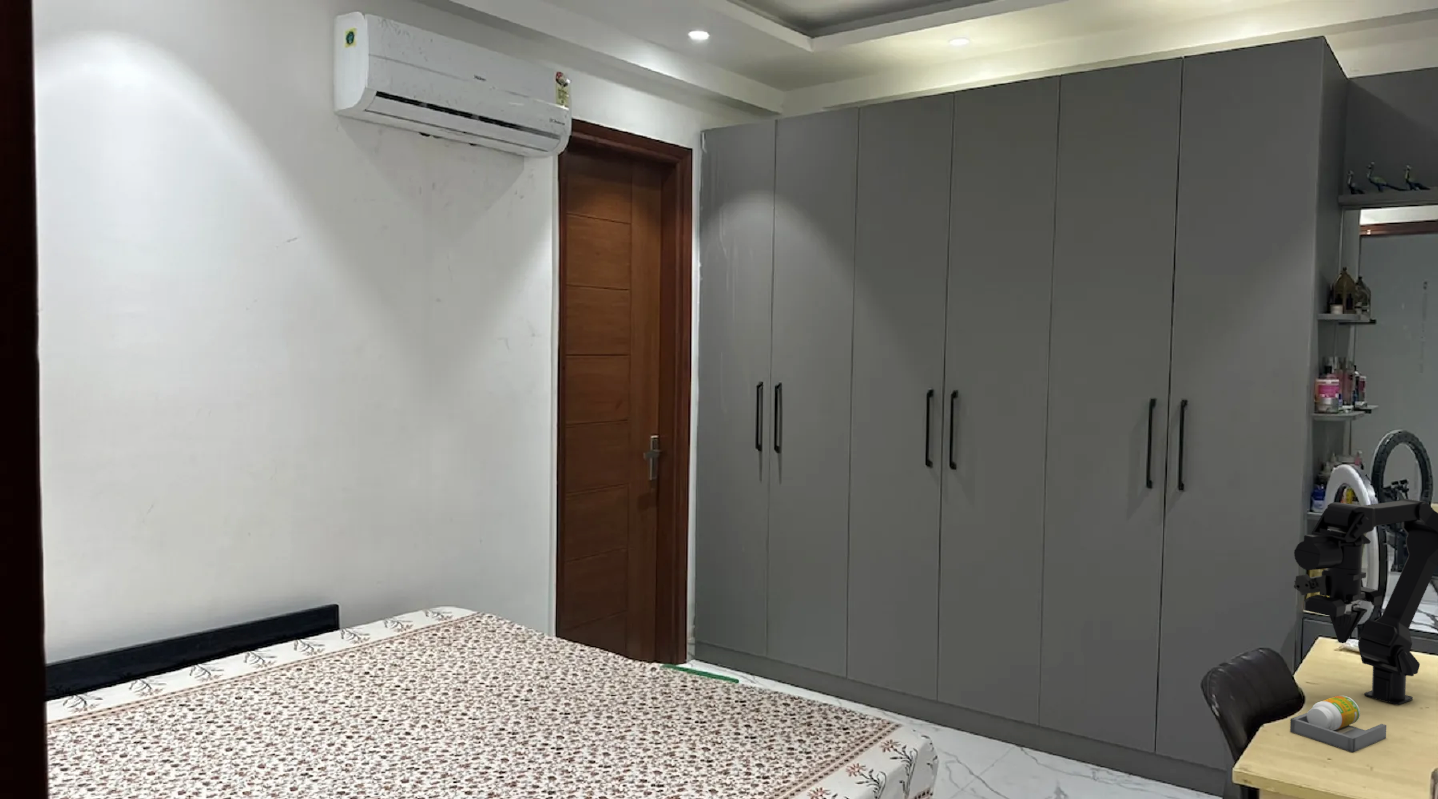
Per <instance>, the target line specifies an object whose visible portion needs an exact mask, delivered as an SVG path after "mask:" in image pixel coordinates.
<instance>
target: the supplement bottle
mask: <svg viewBox="0 0 1438 799" xmlns="http://www.w3.org/2000/svg"><path fill="white" fill-rule="evenodd" d="M1360 710H1361V709H1360V707H1359V706H1358V704H1357V703H1356V701H1355V700H1354V699H1352V698H1351V697H1349V696H1346V695H1336V696H1333V697H1329V698H1327V699H1324V700H1321V701H1318V702H1316V703H1314V704H1313V706H1312V707H1311V708H1310V709H1309V710H1308V711H1307V712H1306V713H1307V720H1308V722H1309V723H1310V724H1314V725H1317V726H1320V727H1323V728H1326V729H1329V730H1332V731H1333V730H1336V729H1339V728H1342V727H1345V726H1348V725H1350V726H1352V725H1354V724H1355V723H1356V722H1358V720H1359V719H1360V717H1361V711H1360Z"/></svg>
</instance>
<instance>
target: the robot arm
mask: <svg viewBox="0 0 1438 799" xmlns="http://www.w3.org/2000/svg"><path fill="white" fill-rule="evenodd" d="M1326 506H1327V507H1326V508H1325V509H1324V511H1323V512H1322V514H1321V516H1320V518H1319V520H1318V521H1317V523H1316V524H1315V526H1314V527H1313V529H1312V531H1311V534H1305V535H1304V536H1303V541H1301V542H1299V543H1298V544H1297V545H1296V546H1295V549H1294V552H1293V556H1294V559H1295V562H1296V563H1297V565H1298V566H1299V567H1300V568H1302V569H1303V570H1306V571H1314V570H1316V571H1317V570H1322V571H1321V575H1317V576H1309V575H1308V574H1307V573H1305V574H1299V575H1296V576H1295V580H1294V584H1293V589H1295V590H1297V591H1298V592H1299V593H1300V596H1306V595H1307V594H1314V593H1319V594H1316V595H1312V596H1311V595H1310V596H1308V597H1307V598H1305V599H1304V600H1303V610H1304V611H1306V612H1310V613H1314V614H1319V615H1324V616H1328V617H1329V619H1330V621H1331V624H1332V628H1333V630H1334V632H1335V637H1336V639H1337V642H1338V643H1340V644H1346V643H1347V642H1348V640H1349V638H1350V636H1352V633H1353V632H1354V630H1355V629H1356V627H1357V625H1358V624H1359V622H1360V621H1361V620H1362V618H1363V617H1364V615H1365V614H1366V613H1367V612H1368V609H1366V608H1363V607H1361V604H1360V603H1359V602H1362V601H1363V602H1367V603H1368V602H1369V603H1370V604H1371V605H1372V606H1373V607H1377V606H1381V605H1383V594H1382V593H1381V592H1380V591H1379V589H1374V588H1370V587H1369V588H1368V587H1365V586H1362V579H1365V578H1366V577H1367V572H1366V571H1365V572H1364V571H1362V569H1363V567H1362V565H1363V546H1364V545H1370V544H1371V541H1372V540H1370V539H1369V538H1368V537H1367V536H1365V534H1367V533H1370V532H1372V531H1374V529H1375V527H1378V526H1385V525H1391V524H1397V523H1401V524H1400V525H1401V526H1400V527H1401V529H1402V531H1404V532H1405V534H1406V539H1405V545H1406V549H1407V553H1408V557H1407V559H1406V561H1405V563H1404V566H1403V567H1402V571H1401V572H1400V576H1399V577H1398V579H1397V581H1396V584H1395V586H1394V588H1393V591H1392V593H1391V594H1390V597H1389V599H1388V602H1387V604H1386V606H1385V608H1384V610H1383V612H1382V615H1381V616H1380V617H1379V618H1377V619H1376V620H1372V619H1367V620H1366V621H1365V622H1364V625H1363V628H1362V630H1361V632H1360V633H1359V635H1358V637H1359V639H1358V642H1357V647H1358V652H1359V654H1360V656H1359V657H1360V660H1361V663H1362V664H1363V665H1369V666H1370V667H1372V681H1371V682H1372V683H1371V684H1372V685H1371V690H1368V691H1366V692H1364V694H1363V695H1364V696H1365V697H1368V698H1371V699H1374V700H1379V701H1382V702H1386V703H1389V704H1392V705H1402V704H1405V703H1408V702H1410V701H1412V700H1413V699H1414V697H1413V696H1411V695H1407V694H1406V687H1407V677H1414V675H1418V672H1419V669H1420V667H1421V666H1420V665H1421V664H1420V662H1419V661H1418V660H1417V658H1416V657H1415V656H1414V654H1412V652H1411V649H1412V646H1413V642H1412V637H1411V633H1410V626H1411V624H1412V622H1413V620H1414V617H1415V615H1416V613H1417V611H1418V608H1419V607H1420V604H1421V602H1422V600H1423V597H1424V595H1425V593H1426V591H1427V588H1428V586H1429V585H1430V584H1429V583H1430V582H1431V580H1432V577H1433V576H1434V573H1435V571H1436V569H1437V567H1438V512H1437V511H1436V510H1434V509H1433V507H1432V506H1431V505H1430V504H1429V503H1427V502H1426V501H1423V500H1418V499H1417V500H1415V499H1411V498H1410V499H1409V498H1403V499H1400V500H1395V501H1388V502H1379V503H1374V504H1373V503H1371V504H1364V505H1361V504H1353V503H1345V502H1330V503H1328V504H1327V505H1326Z"/></svg>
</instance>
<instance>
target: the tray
mask: <svg viewBox="0 0 1438 799" xmlns="http://www.w3.org/2000/svg"><path fill="white" fill-rule="evenodd" d="M1307 713H1308V712H1305V713H1302V714H1300V715H1299V714H1298V715H1297V716H1294V717H1292V718H1290V725H1289V728H1290V729H1289V732H1290V733H1293V734H1296V735H1299V736H1302V737H1305V738H1308V739H1310V740H1314V741H1317V742H1321V743H1323V744H1326V745H1329V746H1331V747H1335V748H1337V749H1341V750H1344V751H1347V752H1349V753H1354V752H1357V751H1359V750H1362V749H1364V748H1366V747H1369V746H1371V745H1373V744H1376V743H1378V742H1381V741H1383V740H1385V739H1387V724H1385V723H1380V724H1378V725H1376V726H1372V727H1370V728H1368V729H1363V728H1359V727H1357V726H1353V725H1348V726H1345V727H1342V728H1339V729H1336V730H1333V731H1332V730H1329V729H1326V728H1323V727H1320V726H1317V725H1314V724H1310V723H1309V722H1308V720H1307Z"/></svg>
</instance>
